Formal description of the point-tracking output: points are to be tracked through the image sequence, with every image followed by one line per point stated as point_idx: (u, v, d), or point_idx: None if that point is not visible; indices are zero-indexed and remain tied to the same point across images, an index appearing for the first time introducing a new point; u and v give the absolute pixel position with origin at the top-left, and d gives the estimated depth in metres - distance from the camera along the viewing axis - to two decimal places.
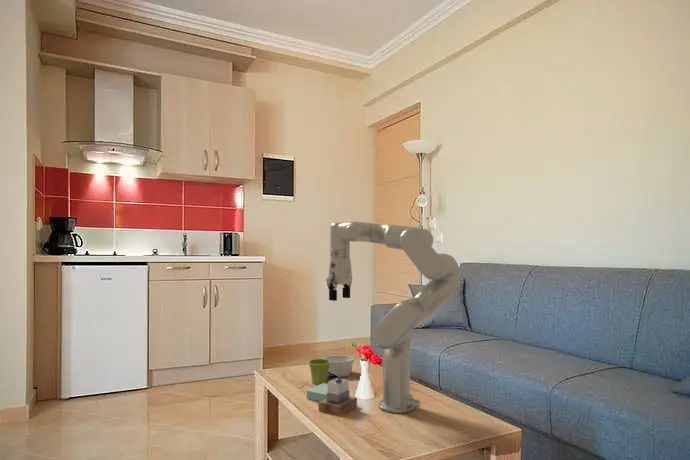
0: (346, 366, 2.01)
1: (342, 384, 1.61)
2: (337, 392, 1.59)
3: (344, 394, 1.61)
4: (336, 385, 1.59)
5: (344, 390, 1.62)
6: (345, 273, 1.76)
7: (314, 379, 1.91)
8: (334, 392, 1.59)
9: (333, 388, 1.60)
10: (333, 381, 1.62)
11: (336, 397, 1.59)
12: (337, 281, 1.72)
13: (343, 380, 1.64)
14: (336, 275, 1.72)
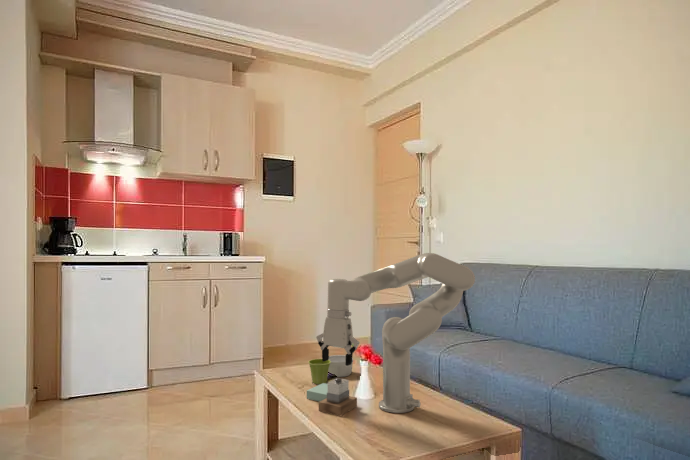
0: (346, 366, 2.01)
1: (342, 384, 1.61)
2: (337, 392, 1.59)
3: (344, 394, 1.61)
4: (336, 385, 1.59)
5: (344, 390, 1.62)
6: None
7: (314, 379, 1.91)
8: (334, 392, 1.59)
9: (333, 388, 1.60)
10: (333, 381, 1.62)
11: (336, 397, 1.59)
12: (352, 342, 1.62)
13: (343, 380, 1.64)
14: (352, 336, 1.62)
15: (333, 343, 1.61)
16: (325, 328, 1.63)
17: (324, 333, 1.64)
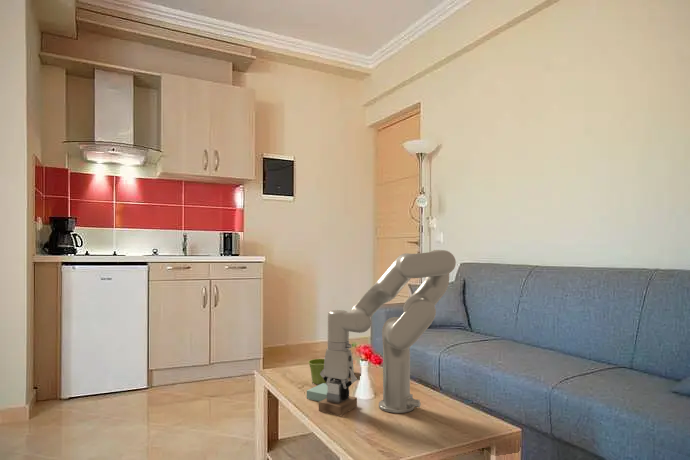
0: None
1: (342, 384, 1.61)
2: (337, 392, 1.59)
3: None
4: (336, 385, 1.59)
5: None
6: None
7: (314, 379, 1.91)
8: (334, 392, 1.59)
9: (333, 388, 1.60)
10: (333, 381, 1.62)
11: (336, 397, 1.59)
12: None
13: None
14: (352, 372, 1.62)
15: (334, 375, 1.61)
16: (326, 360, 1.63)
17: (325, 365, 1.63)
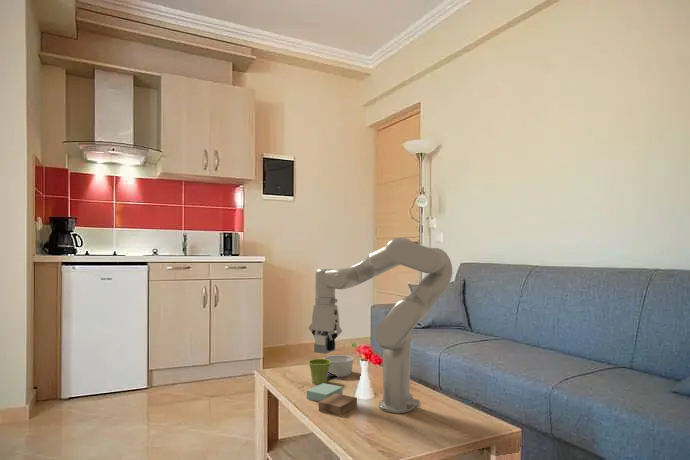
0: (346, 367, 2.01)
1: (328, 336, 1.74)
2: (324, 343, 1.72)
3: None
4: (323, 337, 1.72)
5: None
6: None
7: (314, 379, 1.91)
8: (321, 343, 1.72)
9: (320, 339, 1.73)
10: (320, 334, 1.75)
11: (322, 348, 1.72)
12: None
13: None
14: (338, 325, 1.75)
15: (321, 328, 1.74)
16: (313, 314, 1.76)
17: (313, 319, 1.76)
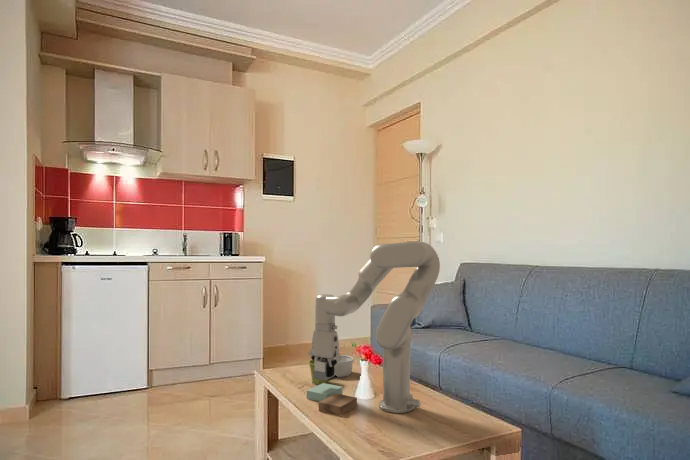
0: (346, 366, 2.01)
1: (328, 362, 1.73)
2: (323, 370, 1.71)
3: None
4: (322, 363, 1.72)
5: None
6: None
7: (314, 379, 1.91)
8: (320, 370, 1.72)
9: (319, 366, 1.72)
10: (320, 360, 1.75)
11: (322, 375, 1.71)
12: None
13: None
14: (338, 351, 1.74)
15: (321, 354, 1.74)
16: (313, 340, 1.76)
17: (312, 345, 1.76)
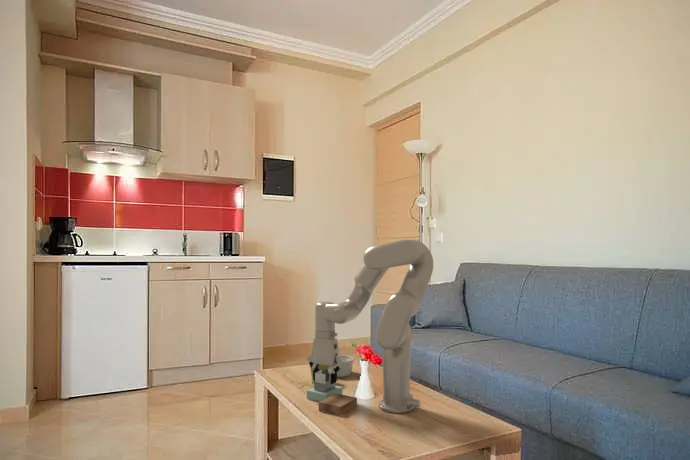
0: (346, 367, 2.01)
1: (329, 374, 1.73)
2: (324, 381, 1.71)
3: (330, 383, 1.74)
4: (323, 375, 1.71)
5: (330, 380, 1.74)
6: None
7: None
8: (321, 381, 1.72)
9: (320, 378, 1.72)
10: (320, 371, 1.75)
11: (323, 386, 1.71)
12: None
13: (330, 370, 1.76)
14: (338, 357, 1.74)
15: (321, 362, 1.74)
16: (313, 348, 1.76)
17: (312, 352, 1.76)
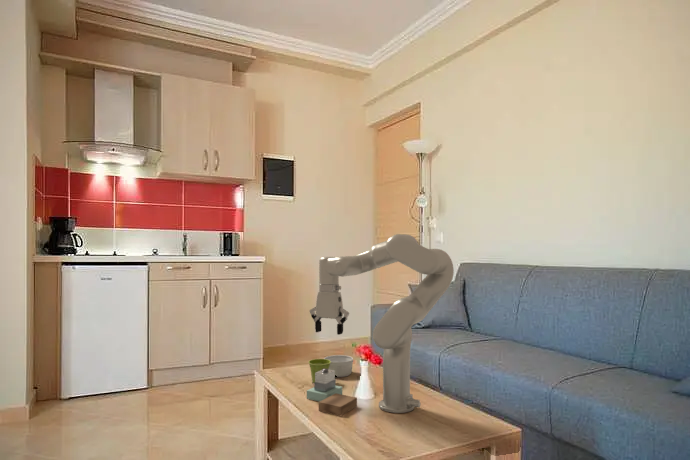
0: (346, 366, 2.01)
1: (329, 374, 1.73)
2: (324, 381, 1.71)
3: (330, 383, 1.74)
4: (323, 375, 1.71)
5: (330, 380, 1.74)
6: None
7: (314, 379, 1.91)
8: (321, 381, 1.72)
9: (320, 378, 1.72)
10: (320, 371, 1.75)
11: (323, 386, 1.71)
12: (342, 313, 1.78)
13: (330, 370, 1.76)
14: None
15: (325, 315, 1.77)
16: (317, 302, 1.79)
17: (317, 306, 1.79)
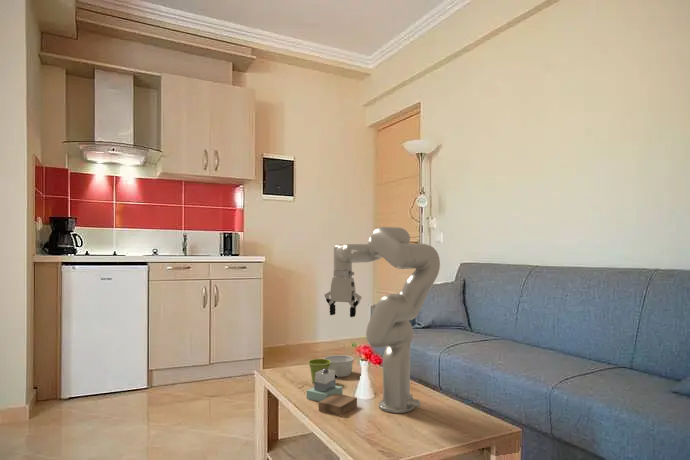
0: (346, 366, 2.01)
1: (329, 374, 1.73)
2: (324, 381, 1.71)
3: (330, 383, 1.74)
4: (323, 375, 1.71)
5: (330, 380, 1.74)
6: None
7: (314, 379, 1.91)
8: (321, 381, 1.72)
9: (320, 378, 1.72)
10: (320, 371, 1.75)
11: (323, 386, 1.71)
12: (355, 298, 1.90)
13: (330, 370, 1.76)
14: (355, 293, 1.90)
15: (339, 299, 1.89)
16: (332, 286, 1.91)
17: (331, 291, 1.91)
